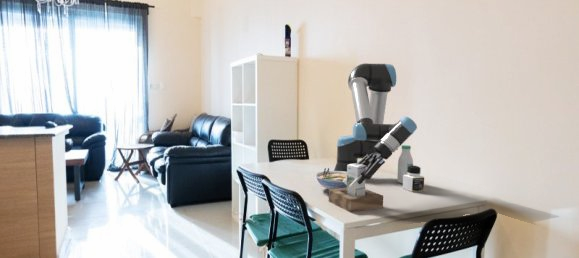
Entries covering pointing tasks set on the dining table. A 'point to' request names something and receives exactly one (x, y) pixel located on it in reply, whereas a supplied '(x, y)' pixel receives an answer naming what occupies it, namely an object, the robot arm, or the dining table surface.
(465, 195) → the dining table surface
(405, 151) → the milk bottle
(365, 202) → the walnut holder
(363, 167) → the syrup box
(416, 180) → the medicine bottle
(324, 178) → the ramen bowl
